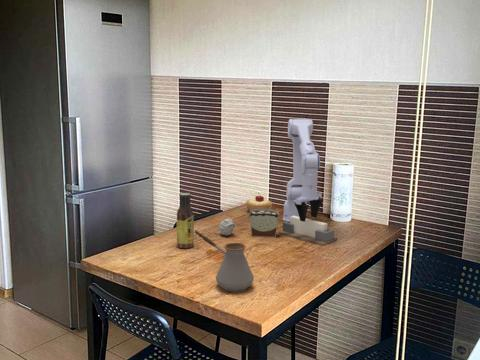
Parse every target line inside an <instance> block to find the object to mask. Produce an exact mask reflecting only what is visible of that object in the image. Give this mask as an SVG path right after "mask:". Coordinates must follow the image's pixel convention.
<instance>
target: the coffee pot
mask: <svg viewBox="0 0 480 360" xmlns="http://www.w3.org/2000/svg"><path fill="white" fill-rule="evenodd" d="M193 234H194V237H195V236H196V235H197V236H198V237H200V238H202V240H203V241H204V242H206V243H208V244H209V245H210V246H212V247H214V248H215V249H217V250H218V251H220V252H221V253H222V254H224V257H223V259H222V262H221V264H220V266H219V269H218V271H217V273H216V276H215V281H216V283H217V284H218V286H220V287H222V289H223V290H225V291H227V292H234V293H235V292H241V291H245V290H246V289H248V288H249V286H251V285H252V283H253V281H254V278H255V277H254V275H253V272H252V269H251V267H250V265H249V263H248V262H249V261H248V260H247V258H246V255H245V253H244V252H245V250H246V245H245V244H243V243H242V242H230V243H226V244H224V245H223V248H224V249H225V250H224V249H223V248H222V247H220V246H218V245H217V244H216V243H215V242H213V241H212V240H211V239H209V237H207V236H205V235H203V233H200V232H199V231H198V230H195V231H194V233H193ZM192 236H193V235H192Z"/></svg>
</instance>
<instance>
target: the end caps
mask: <svg viewBox="0 0 480 360" xmlns="http://www.w3.org/2000/svg"><path fill="white" fill-rule="evenodd" d="M282 231H285V232H288V233H293V232H294V224H290V220H289V221H284V222H282ZM334 237H335V229H333V228H332V229H331V228H328V227H327V231H326V232H322V231H318V230H316V231H315V240H319V241H322V242H327V241H330V240H332V239H334Z"/></svg>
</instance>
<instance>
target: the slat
mask: <svg viewBox="0 0 480 360" xmlns="http://www.w3.org/2000/svg"><path fill="white" fill-rule="evenodd" d="M290 224H294V232H295V233H298V234H302V235H306V236H310V237H314V238H315V231H316V230H318V231H322V232H326V231H327V228H328V223H327V222H322V221H318V220H313V219H310V218H306V220H305V222H304V221H300V218H299V217H298V216H291V217H290Z"/></svg>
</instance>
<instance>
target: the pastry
mask: <svg viewBox="0 0 480 360" xmlns="http://www.w3.org/2000/svg"><path fill="white" fill-rule="evenodd" d="M245 206H246V210H247V211H248V212H249V213H250V211H252V210H255V209H272V208H273V202H272V201H271V200H269V199H267V198H265V197H264V196H263V195H261V194H260V192H258V195H256V196H255V197H254V198H249V199H247V200H246V202H245ZM272 210H273V209H272Z"/></svg>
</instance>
